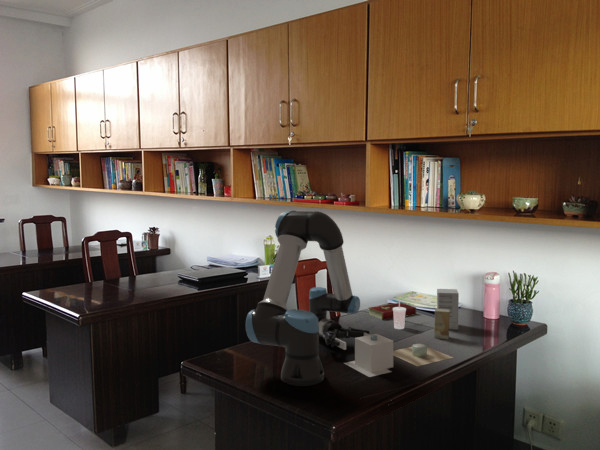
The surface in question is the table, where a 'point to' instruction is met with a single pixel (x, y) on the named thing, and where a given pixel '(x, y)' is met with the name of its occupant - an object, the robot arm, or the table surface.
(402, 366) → the table surface
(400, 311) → the beverage cup
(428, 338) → the table surface
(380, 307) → the hardcover book
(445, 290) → the supplement box
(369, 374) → the grey mat
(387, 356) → the dust cover
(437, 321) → the skincare box
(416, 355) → the pale green cylinder
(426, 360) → the birch board
